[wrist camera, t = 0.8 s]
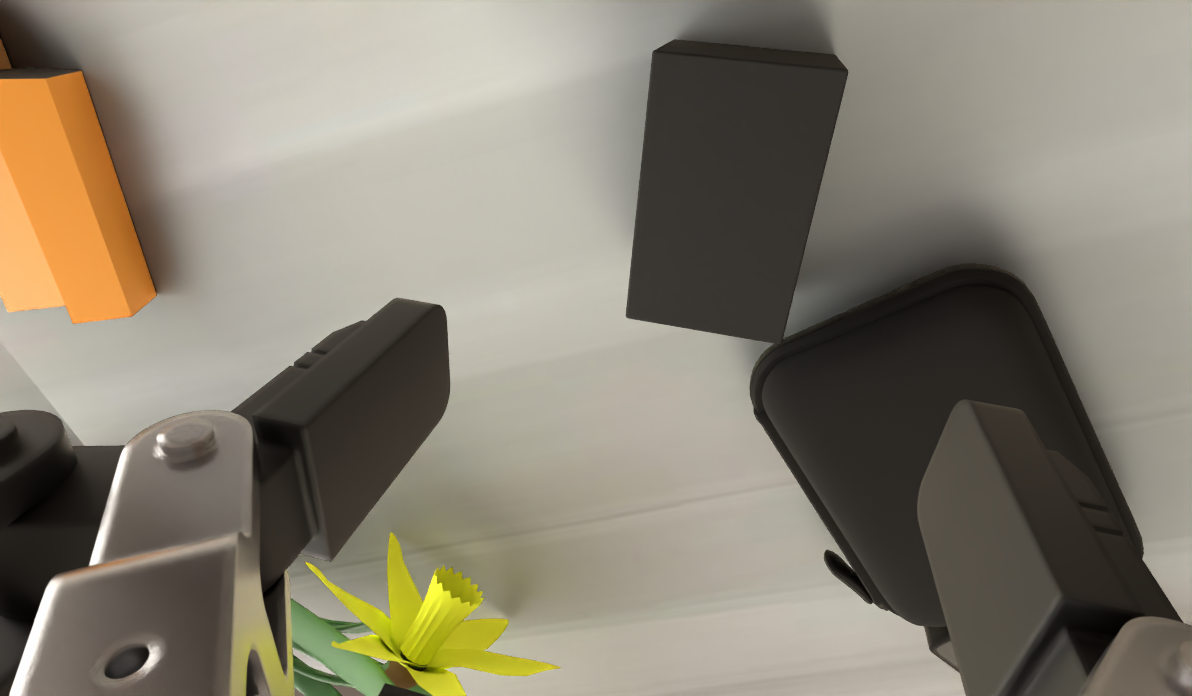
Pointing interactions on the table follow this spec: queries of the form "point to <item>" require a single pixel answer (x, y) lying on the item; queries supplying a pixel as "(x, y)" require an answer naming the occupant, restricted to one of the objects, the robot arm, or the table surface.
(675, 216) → the small pad
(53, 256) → the pan flute
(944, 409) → the carrying case
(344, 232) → the table surface
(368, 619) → the daffodil flowers
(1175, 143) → the table surface
